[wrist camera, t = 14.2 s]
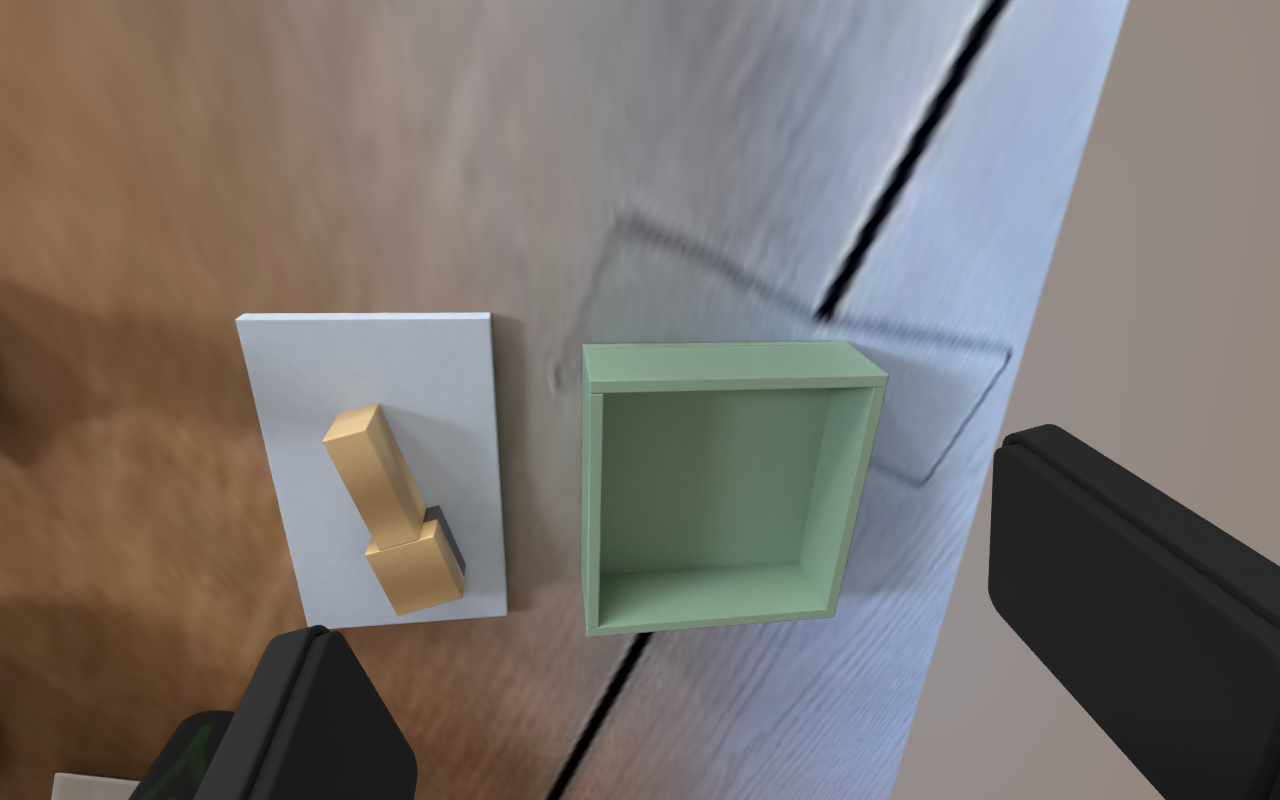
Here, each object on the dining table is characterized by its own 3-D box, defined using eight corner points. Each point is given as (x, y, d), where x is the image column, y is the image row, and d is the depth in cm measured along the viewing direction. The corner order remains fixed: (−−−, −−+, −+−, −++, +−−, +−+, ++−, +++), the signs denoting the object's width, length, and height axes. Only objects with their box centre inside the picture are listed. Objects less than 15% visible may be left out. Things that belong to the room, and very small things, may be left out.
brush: (323, 417, 34) (304, 445, 31) (393, 398, 34) (381, 425, 31) (406, 580, 39) (397, 616, 36) (467, 563, 39) (462, 598, 36)
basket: (582, 343, 35) (589, 380, 30) (846, 340, 37) (889, 374, 33) (581, 578, 42) (586, 637, 37) (803, 563, 44) (834, 617, 40)
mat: (243, 313, 32) (234, 319, 31) (490, 312, 34) (489, 318, 33) (313, 618, 40) (308, 630, 39) (508, 604, 42) (507, 615, 41)
